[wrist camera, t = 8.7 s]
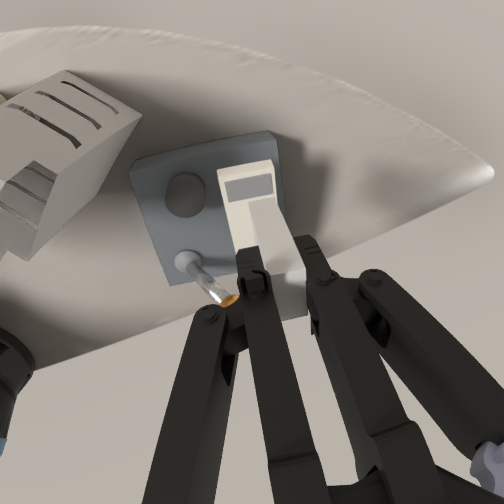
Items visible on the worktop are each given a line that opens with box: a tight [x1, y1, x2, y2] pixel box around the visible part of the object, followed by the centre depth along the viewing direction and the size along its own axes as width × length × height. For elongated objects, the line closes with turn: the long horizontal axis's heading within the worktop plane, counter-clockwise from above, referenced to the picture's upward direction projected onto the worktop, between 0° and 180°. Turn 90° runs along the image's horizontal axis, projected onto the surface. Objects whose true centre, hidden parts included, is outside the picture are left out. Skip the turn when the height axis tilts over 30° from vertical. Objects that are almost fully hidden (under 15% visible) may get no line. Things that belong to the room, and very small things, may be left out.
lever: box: [185, 261, 239, 308], centre depth 29 cm, size 3×3×10 cm
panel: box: [128, 131, 287, 286], centre depth 32 cm, size 14×14×6 cm
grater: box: [0, 70, 143, 262], centre depth 19 cm, size 10×10×20 cm
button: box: [165, 172, 206, 218], centre depth 28 cm, size 4×4×2 cm
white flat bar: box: [217, 159, 277, 254], centre depth 28 cm, size 4×11×1 cm, turn 9°
